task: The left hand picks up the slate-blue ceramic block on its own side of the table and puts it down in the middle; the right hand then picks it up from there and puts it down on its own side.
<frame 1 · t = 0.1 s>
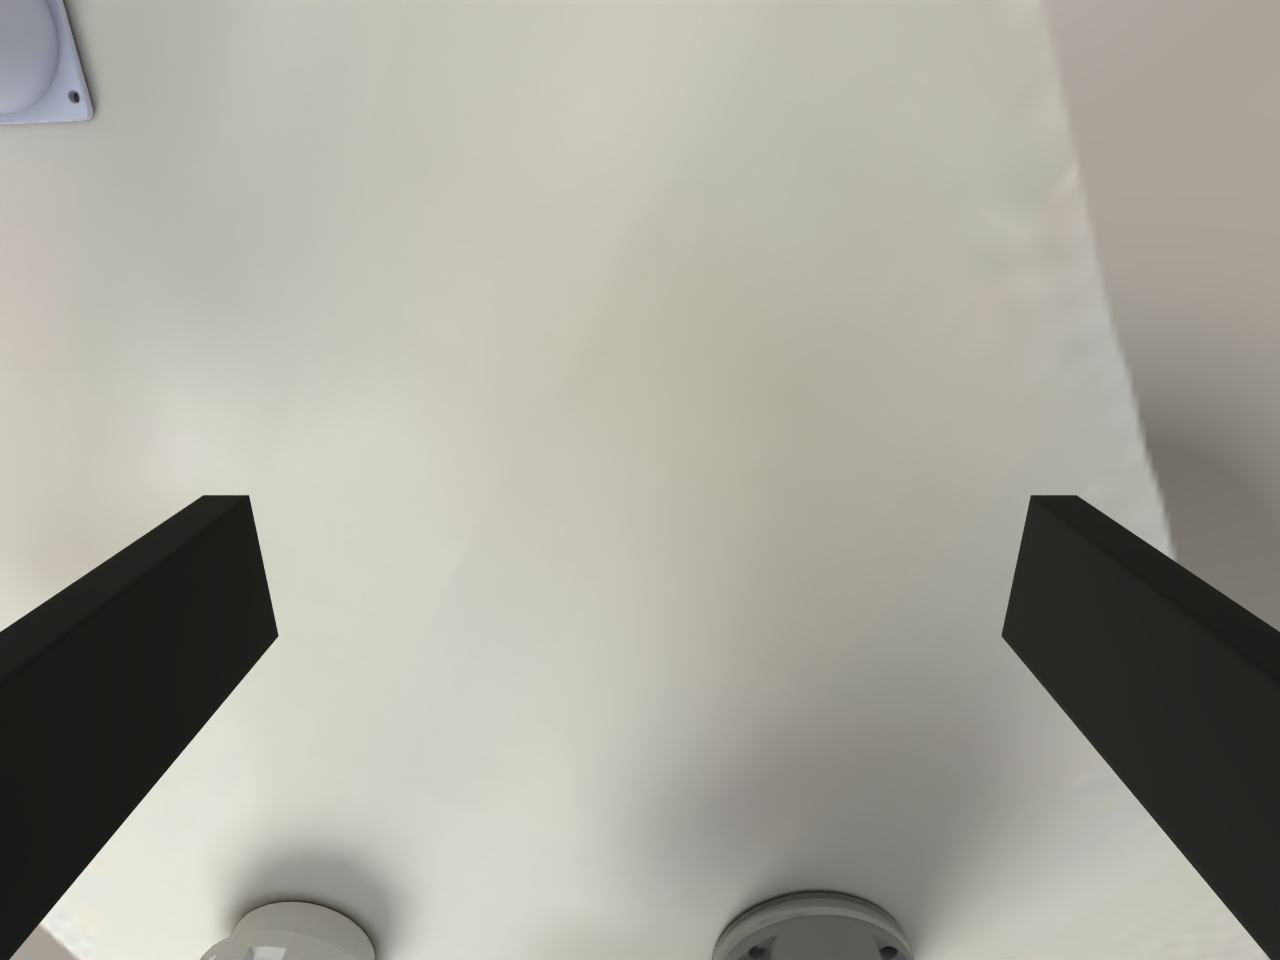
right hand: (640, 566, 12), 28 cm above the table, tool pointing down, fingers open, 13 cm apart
flag stand: (304, 950, 56), on the table
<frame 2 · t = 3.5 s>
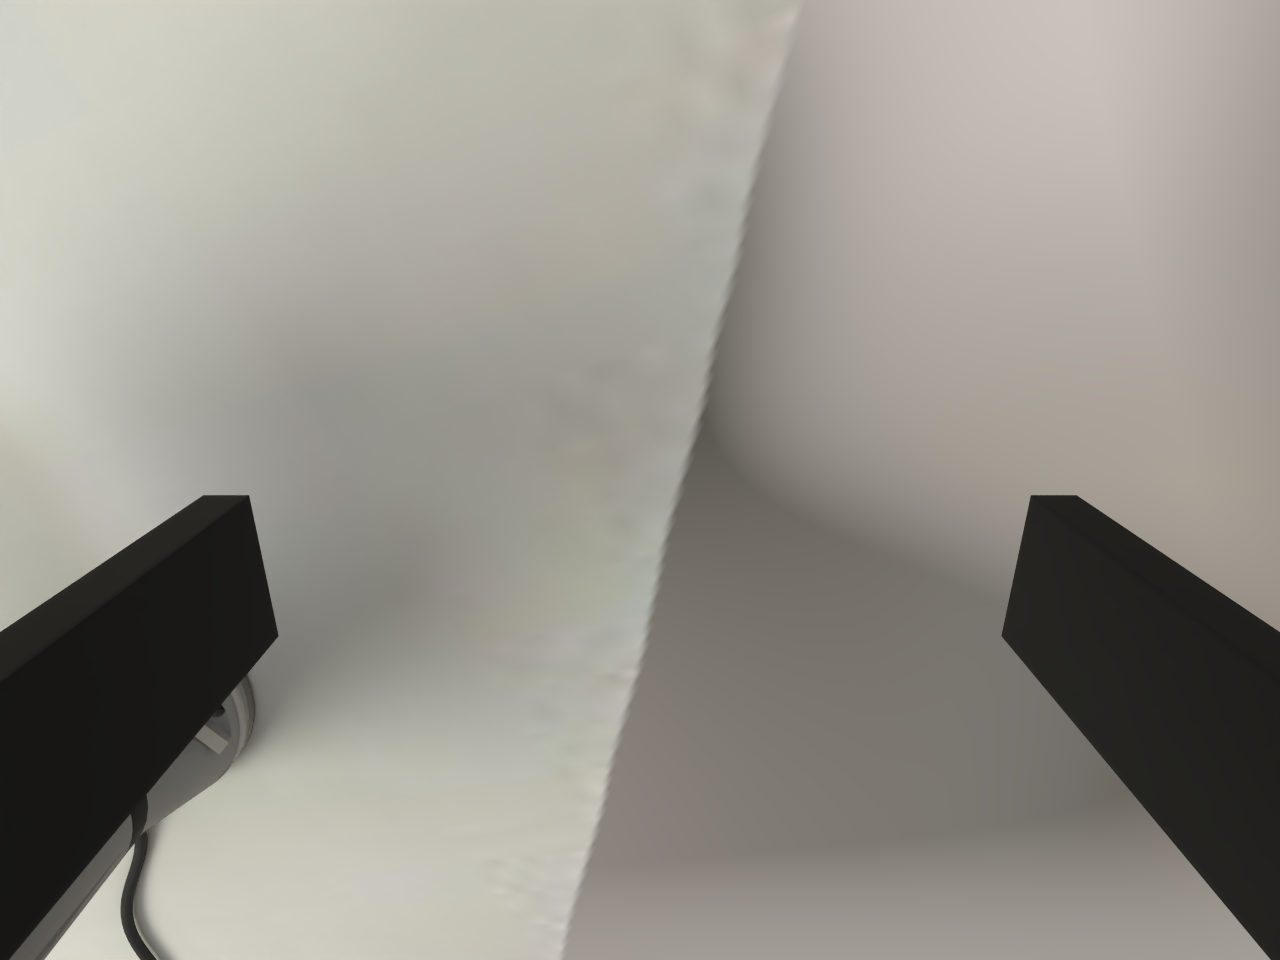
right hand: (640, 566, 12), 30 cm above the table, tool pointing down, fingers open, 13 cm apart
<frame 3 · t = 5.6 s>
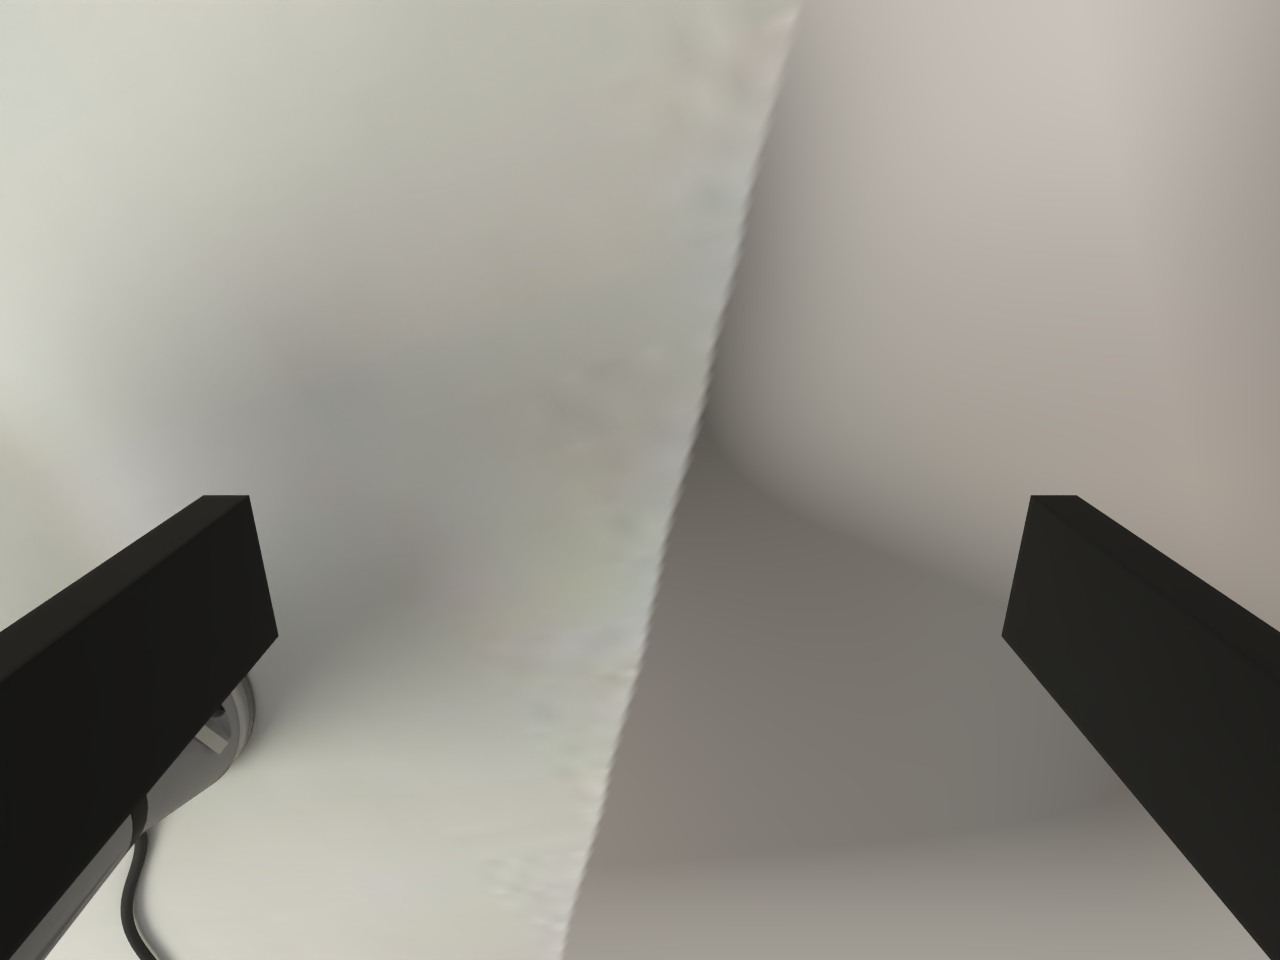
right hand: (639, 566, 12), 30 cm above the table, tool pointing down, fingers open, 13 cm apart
when the left hand's fingers open (2 cm above the table, at t = 7.7 s): block stays where it is, on the table.
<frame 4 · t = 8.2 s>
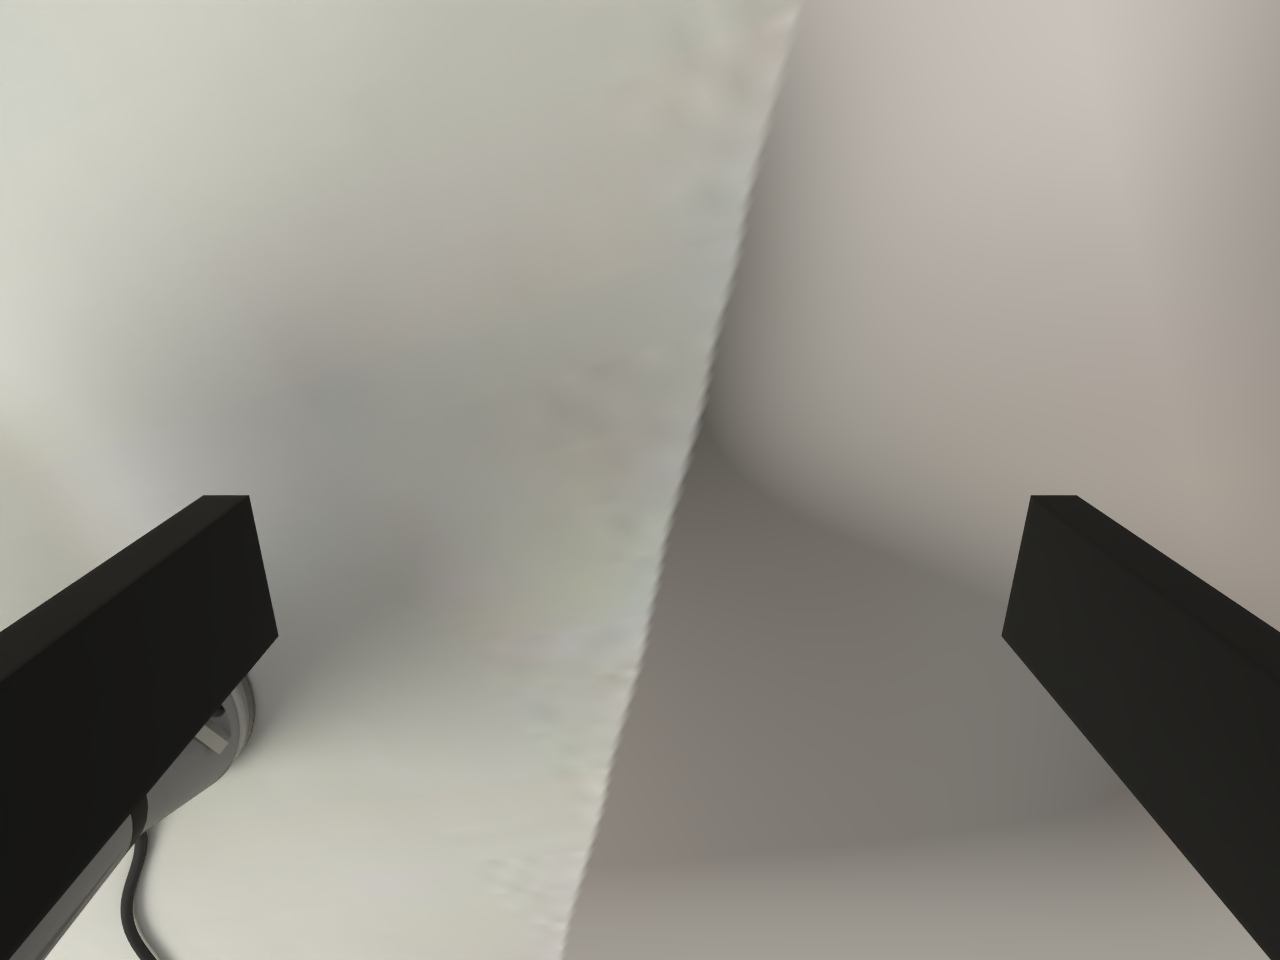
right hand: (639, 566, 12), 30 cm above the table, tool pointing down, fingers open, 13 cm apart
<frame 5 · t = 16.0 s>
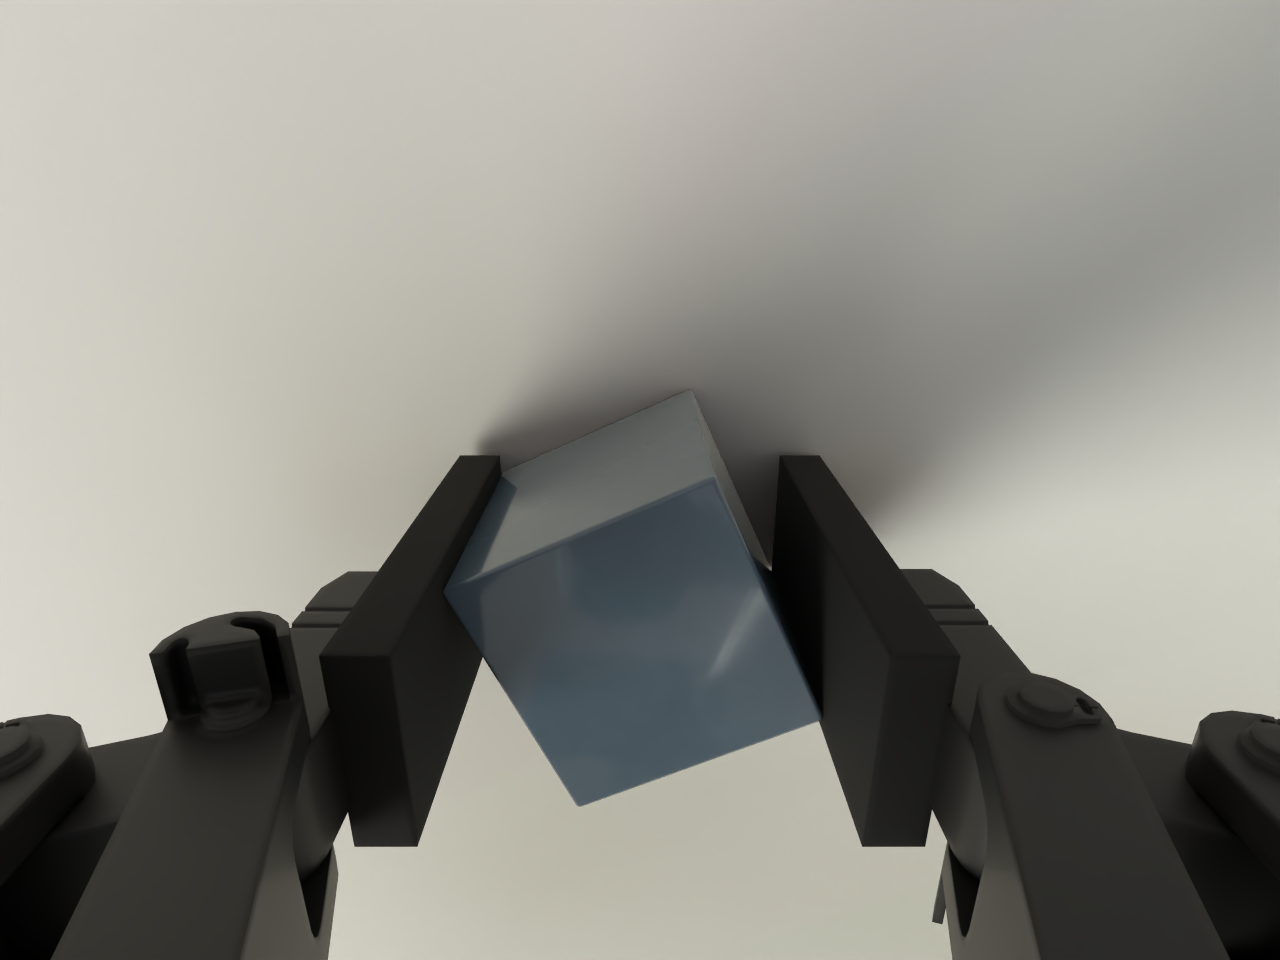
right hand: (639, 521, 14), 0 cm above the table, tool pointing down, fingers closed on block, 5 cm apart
block: (639, 521, 15), on the table, touching right hand
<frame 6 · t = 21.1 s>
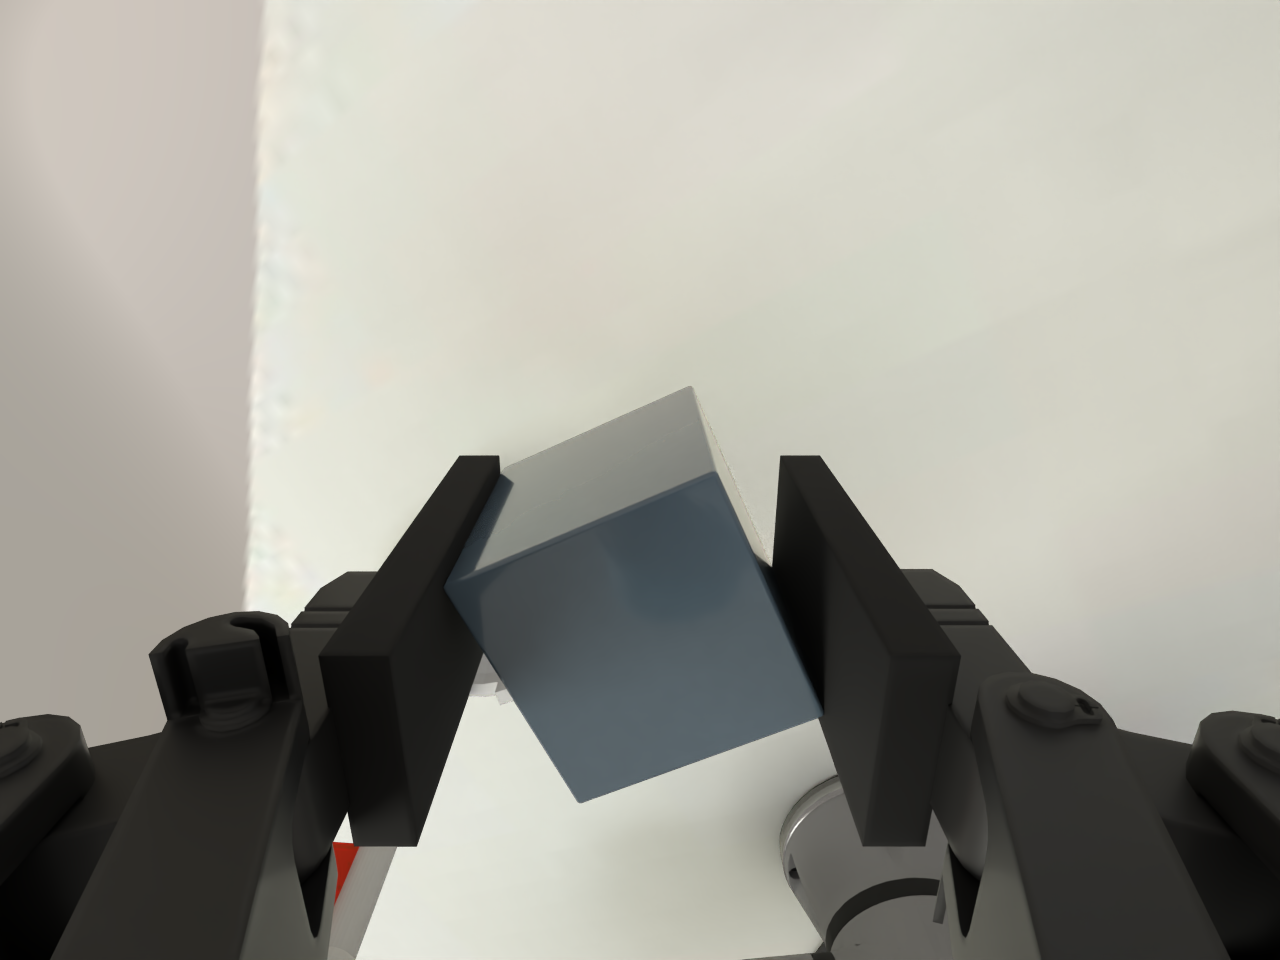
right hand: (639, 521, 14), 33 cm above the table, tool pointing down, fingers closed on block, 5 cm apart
block: (640, 518, 14), point 32 cm above the table, touching right hand
flag stand: (483, 582, 52), on the table
when the right hand's fingers open (1 cm above the table, at t = 26.6 s): block stays where it is, on the table.
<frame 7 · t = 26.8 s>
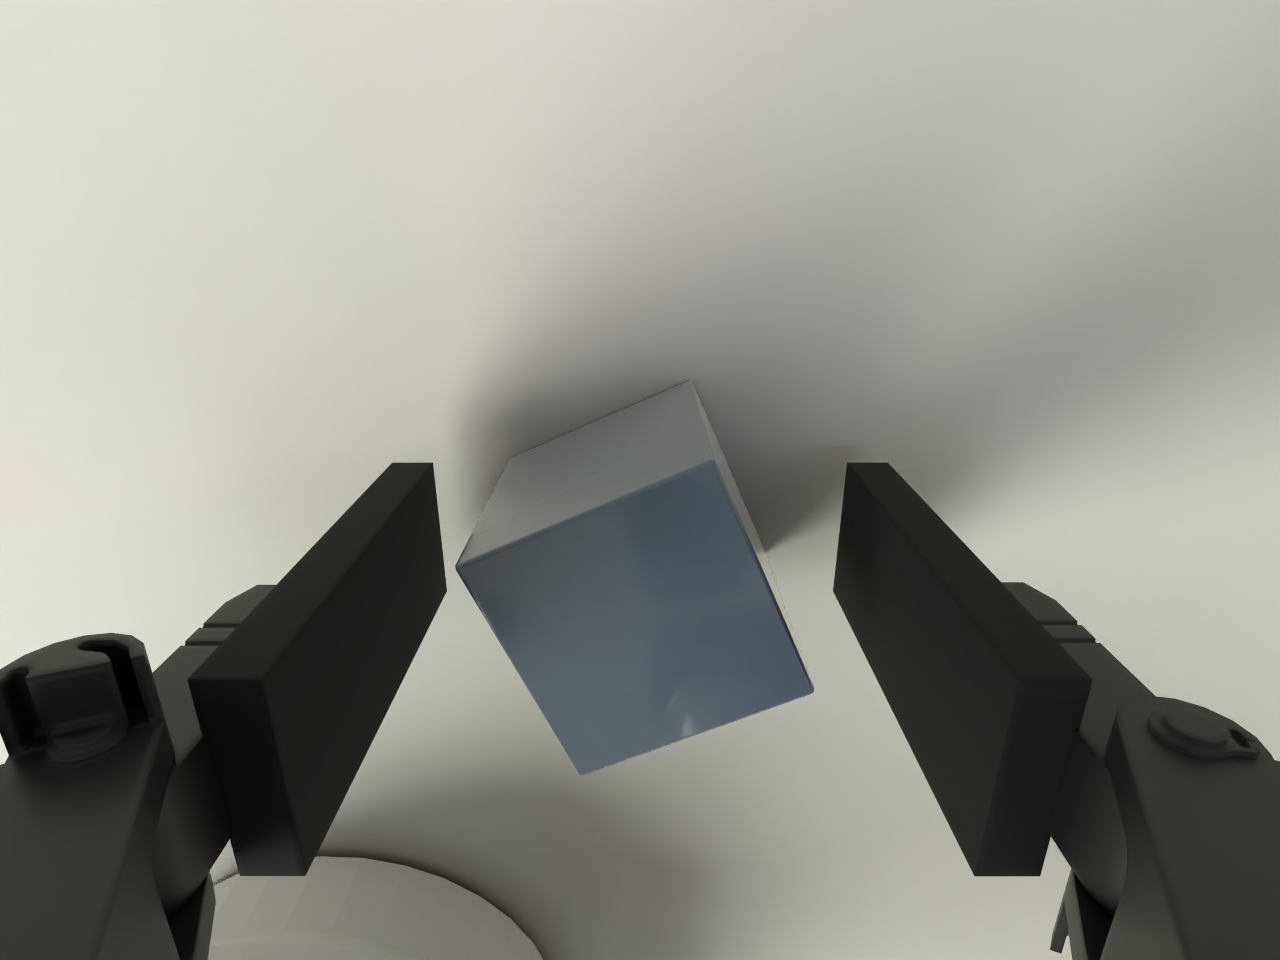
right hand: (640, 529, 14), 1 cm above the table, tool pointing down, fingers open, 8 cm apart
block: (640, 507, 15), on the table
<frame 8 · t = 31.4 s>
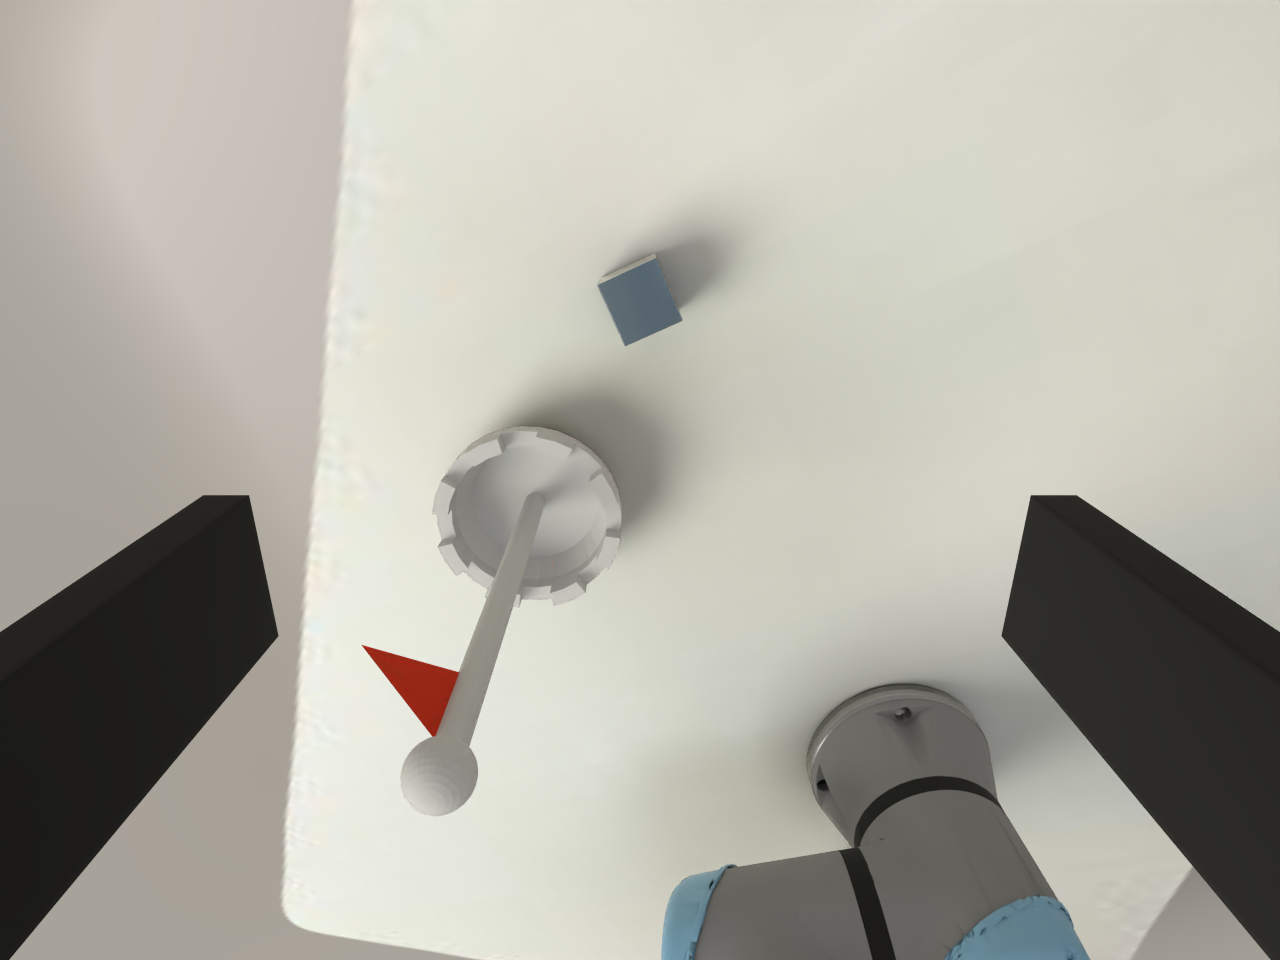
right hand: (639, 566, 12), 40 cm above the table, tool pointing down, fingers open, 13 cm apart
block: (640, 294, 50), on the table
flag stand: (537, 495, 55), on the table
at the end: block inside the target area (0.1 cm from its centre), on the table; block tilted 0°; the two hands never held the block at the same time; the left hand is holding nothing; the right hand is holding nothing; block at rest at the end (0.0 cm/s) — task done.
